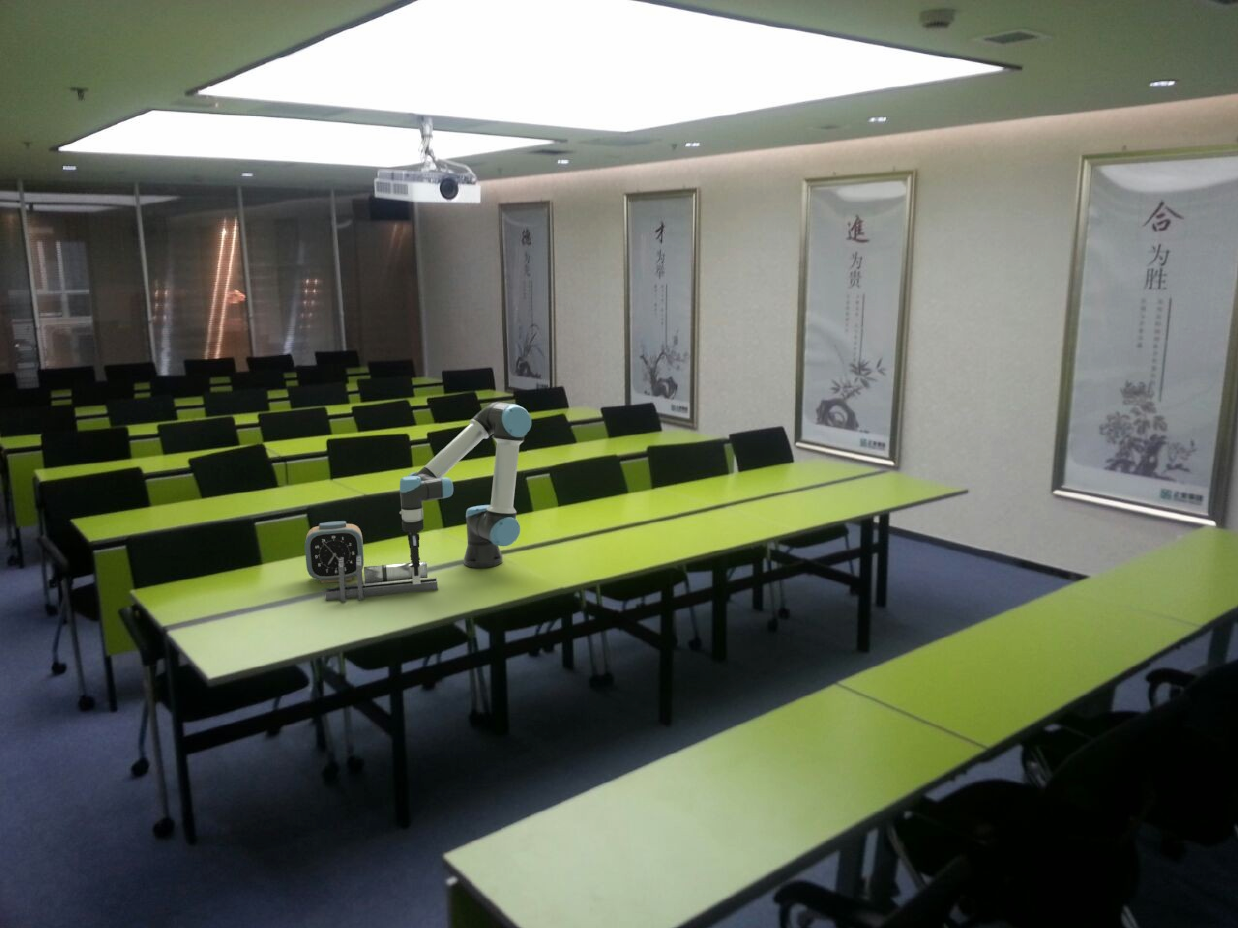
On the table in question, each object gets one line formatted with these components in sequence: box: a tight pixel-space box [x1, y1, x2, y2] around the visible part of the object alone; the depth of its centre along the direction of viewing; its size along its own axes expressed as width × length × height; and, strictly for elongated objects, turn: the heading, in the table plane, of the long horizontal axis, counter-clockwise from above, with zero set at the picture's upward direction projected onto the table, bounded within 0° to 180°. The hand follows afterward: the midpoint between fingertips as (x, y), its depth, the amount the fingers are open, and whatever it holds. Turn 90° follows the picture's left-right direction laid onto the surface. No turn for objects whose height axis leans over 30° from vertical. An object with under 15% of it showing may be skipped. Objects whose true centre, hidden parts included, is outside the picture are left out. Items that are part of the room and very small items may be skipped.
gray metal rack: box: [324, 555, 439, 604], centre depth 336 cm, size 39×12×13 cm, turn 105°
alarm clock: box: [304, 520, 365, 584], centre depth 353 cm, size 21×10×22 cm, turn 105°
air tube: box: [363, 561, 429, 585], centre depth 337 cm, size 22×6×6 cm, turn 105°
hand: (416, 580), depth 340 cm, fingers closed on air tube, 6 cm apart
